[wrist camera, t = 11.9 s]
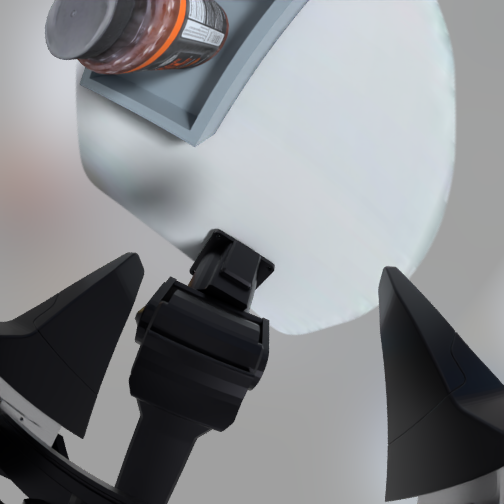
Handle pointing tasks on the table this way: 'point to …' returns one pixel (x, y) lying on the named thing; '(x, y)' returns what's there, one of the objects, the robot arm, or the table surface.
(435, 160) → the table surface
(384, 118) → the table surface
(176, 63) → the supplement bottle
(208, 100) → the tote
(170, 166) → the table surface
